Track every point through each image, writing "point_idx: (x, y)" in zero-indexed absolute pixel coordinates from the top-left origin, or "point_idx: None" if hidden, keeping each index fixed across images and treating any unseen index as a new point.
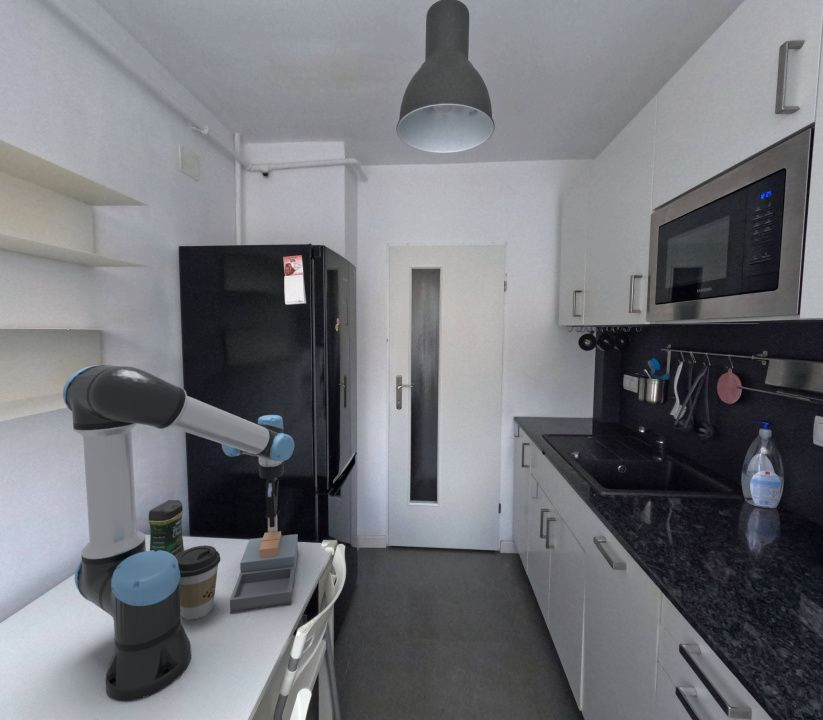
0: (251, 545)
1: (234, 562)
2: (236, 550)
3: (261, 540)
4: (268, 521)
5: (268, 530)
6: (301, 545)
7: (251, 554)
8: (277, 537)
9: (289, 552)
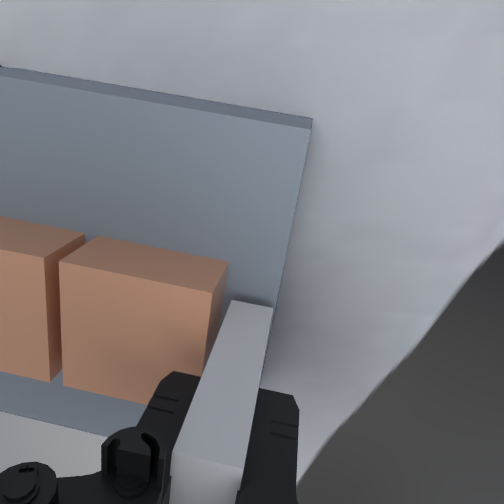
0: (175, 149)
1: (284, 3)
2: (480, 3)
3: (237, 236)
4: (190, 405)
5: (220, 334)
6: (323, 408)
7: (18, 149)
8: (88, 377)
9: (6, 387)
